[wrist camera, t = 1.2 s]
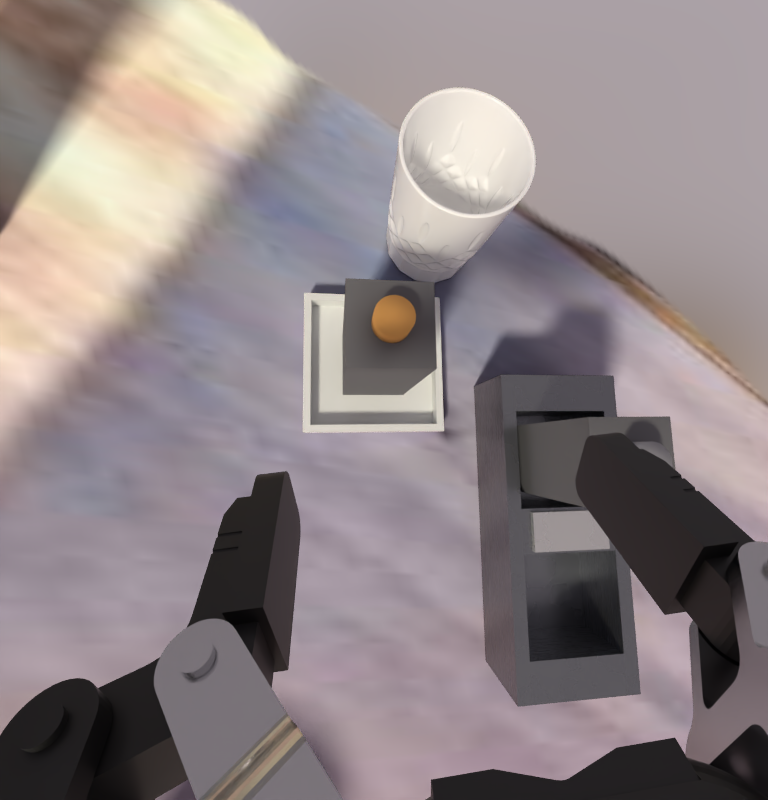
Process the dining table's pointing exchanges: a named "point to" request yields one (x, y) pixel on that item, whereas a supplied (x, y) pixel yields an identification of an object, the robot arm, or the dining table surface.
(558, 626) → the strip
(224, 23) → the dining table surface
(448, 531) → the dining table surface
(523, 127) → the white cup
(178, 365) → the dining table surface
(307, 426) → the tray
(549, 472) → the twin plug
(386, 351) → the plug
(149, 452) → the dining table surface
